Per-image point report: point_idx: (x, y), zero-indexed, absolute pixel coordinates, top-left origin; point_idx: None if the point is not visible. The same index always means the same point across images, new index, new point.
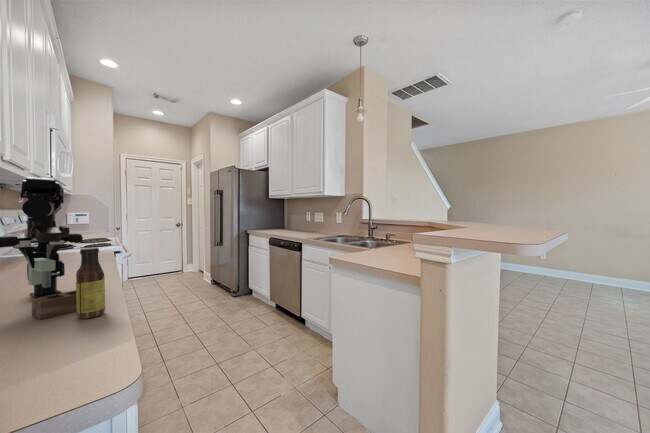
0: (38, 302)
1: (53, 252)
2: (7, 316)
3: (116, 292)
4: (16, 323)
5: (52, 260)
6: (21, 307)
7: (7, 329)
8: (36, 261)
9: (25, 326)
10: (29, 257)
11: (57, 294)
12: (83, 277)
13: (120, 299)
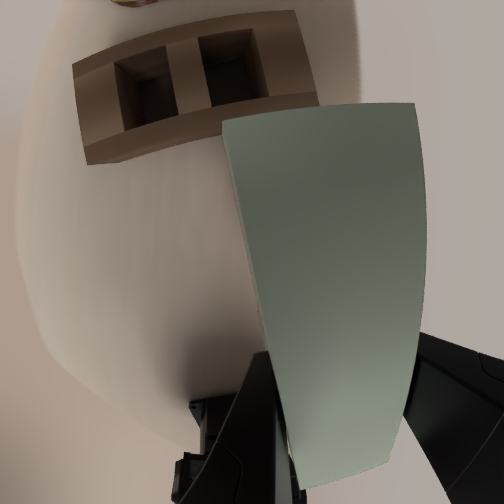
0: (299, 34)
1: (232, 491)
2: None
3: (23, 265)
4: (336, 69)
5: (264, 158)
6: None
7: (354, 31)
8: (416, 305)
9: (315, 15)
10: (484, 358)
11: (214, 110)
12: None
13: (22, 133)
